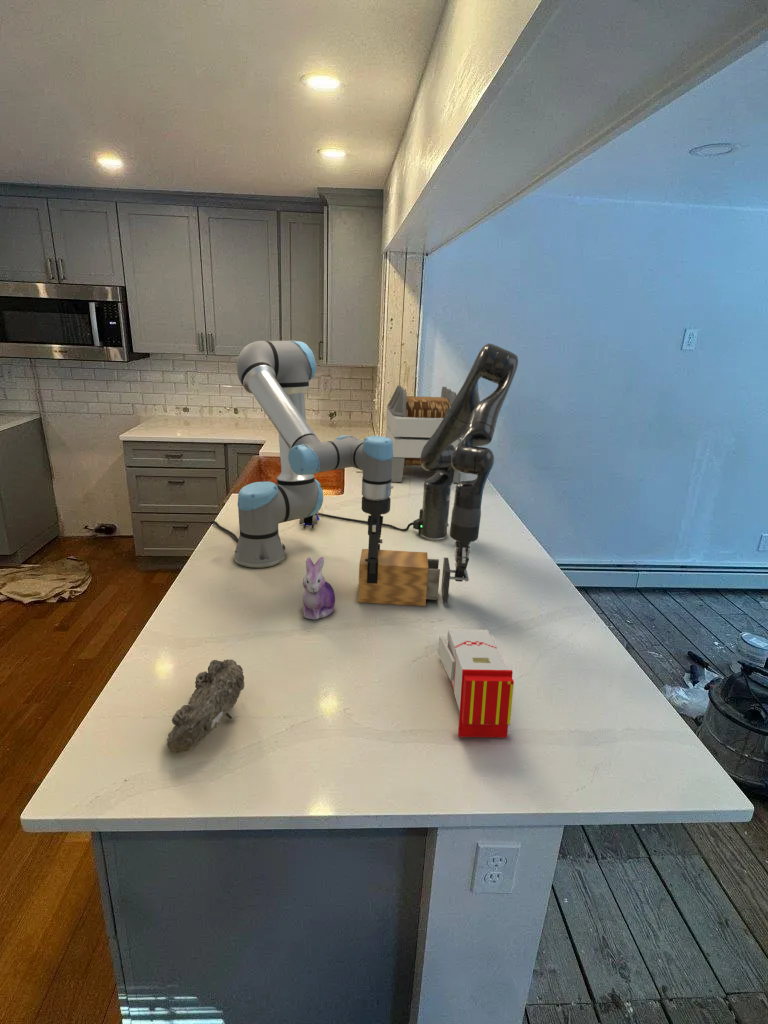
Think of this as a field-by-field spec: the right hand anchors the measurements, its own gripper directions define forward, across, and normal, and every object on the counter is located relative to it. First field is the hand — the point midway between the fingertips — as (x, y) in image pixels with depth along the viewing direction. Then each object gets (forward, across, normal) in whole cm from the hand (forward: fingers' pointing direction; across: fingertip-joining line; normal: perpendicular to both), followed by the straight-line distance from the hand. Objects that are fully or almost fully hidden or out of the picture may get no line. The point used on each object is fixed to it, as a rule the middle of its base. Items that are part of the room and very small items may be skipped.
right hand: (458, 580), depth 155 cm
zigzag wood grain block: (+6, 0, +18) cm, 19 cm away
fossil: (+7, -53, +50) cm, 73 cm away
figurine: (+6, -12, +36) cm, 39 cm away
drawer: (+5, 0, +9) cm, 10 cm away
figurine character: (+7, +50, +49) cm, 70 cm away
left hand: (0, 0, +23) cm, 23 cm away
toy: (+6, -40, 0) cm, 41 cm away
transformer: (+6, +126, +9) cm, 126 cm away
